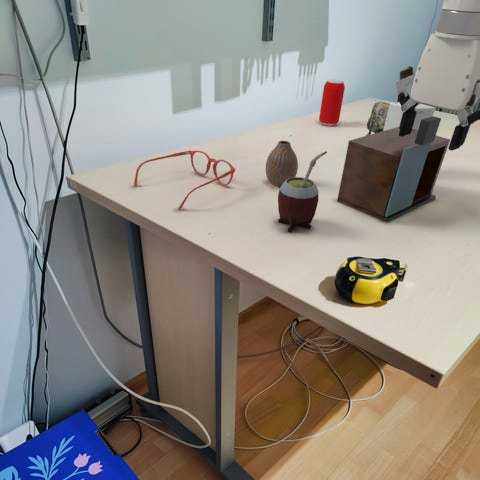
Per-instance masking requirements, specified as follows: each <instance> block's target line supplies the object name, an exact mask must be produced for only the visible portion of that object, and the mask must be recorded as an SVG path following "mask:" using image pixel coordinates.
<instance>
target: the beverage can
mask: <svg viewBox="0 0 480 480" xmlns="http://www.w3.org/2000/svg"><path fill="white" fill-rule="evenodd" d="M345 89H346V87H345V82H344V81H343V80H342V79H336V78H332V79H331V78H330V79H327V80H326V82H325V83H324V85H323V91H322V97H321V104H320V111H319V116H318V121H319V123H321V125H323V126H327V127H333V126H335V125H338V124H339V122H340V118H341V111H342V106H343V100H344V95H345Z"/></svg>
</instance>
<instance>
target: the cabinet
mask: <svg viewBox="0 0 480 480" xmlns="http://www.w3.org/2000/svg"><path fill="white" fill-rule="evenodd" d="M399 132H400V129H399V127H396V128H392V129H389V130H385V131H382V132H378V133H371V134H370V135H367V134H366V135H367V136H366V135H364V136H361V137H358V138H354V139H350V140H348V143H347V147H346V148H347V149H346V153H345V159H344V164H343V169H342V174H341V178H340V179H341V180H340V184H339V190H338V194H337V198H336V201H337V202H338V203H340V204H343V205H345V206H347V207H350V208H352V209H354V210H356V211H359V212H361V213H364V214H366V215H368V216H370V217H372V218H375V219H377V220H380V221H382V222H385V223H386V224H388V223H389V222H392V221H394V220H396V219H398V218H400V217H402V216H404V215H407V214H409V213H410V212H412V211H414V210H416V209H418V208H421V207H422V206H424V205H427V204H429V203H431V202H434V201H435V200H436V198H437V195H434V194H433V191H434V189H435V186H436V182H437V181H438V180H437V179H438V177H439V173H440V172H441V167H442V165H443V162H444V159H445V157H446V154H447V151H448V147H449V144H450V141H451V138H447V137H444V136H440V135H436V136H435V139H434V142H431V145H430V148H429V151H428V154H427V158H426V161H425V164H424V167H423V170H422V173H421V176H420V180H419V183H418V186H417V189H416V192H415V195H414V198H413V202H412V205H411V206H409V207H407V208H405V209H402V210H400V211H398V212H396V213H394V214H392V215H390V216H388V217H386V216H385V214H386V210H387V206H388V203H389V199H390V196H391V192H392V189H393V185H394V181H395V178H396V174H397V171H398V167H399V164H400V160H401V156H402V153H403V149H404V148H407V147H410V146H413V145H416V143H415V139H416V136H417V133H418V130H414V129H412V131H411V133H410V134H408V135H405V136H402V137H401V136H399Z"/></svg>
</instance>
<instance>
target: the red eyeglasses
mask: <svg viewBox="0 0 480 480" xmlns="http://www.w3.org/2000/svg"><path fill="white" fill-rule="evenodd" d="M196 153H201V154H203V155H205V157H206V158H207V164H206V170H205V172H204V173H200V172H199V171H198V170H197V169H196V167H195V164H194V156H195V154H196ZM187 155H190V162H191V167H192V169H193V171H194V172H195V173H196V174H197V175H199V176H206V175H207V174H208V173H209V171H210V169H211V165H212V171H213V175H214V177H215V178H213V179H211V180H209V181H206V182H204V183H202V184H199V185H197V186H196V187H194V188H193V189H191V190H190V191H188V193H187V194H186V196H185V197H184V199H183V200H182V201H181V204H180V205H179V207H178V210H181V209H182V208H183V207H184V205H185V203H186V201H187V199H188V198H189V196H191V195H192V193H193V192H194V191H196V190H197V189H200V188H202V187H205V186H207V185H209V184H212V183H214V182H218V183H219V184H220V185H222V186H228V185H229V184H231V182H232V180H233V177H234V173H235V172H236V168H235V167H234V166H233V165H232V164H231V163H230V162H229V161H227V160H225V159H218V160H216V159H215V158H211V157H210V156H209V155H208V153H206V152H205V151H202V150H185V151H180V152H175V153H173V154H168V155H164V156H159V157H155V158H151V159H147V160H145V161H143V162H141V163H140V164H139V165H138V167H137V168H136V170H135V175H134V181H133V186H134V187H137V186H138V175H139V172H140V169H141V167H142V166H143V165H145V164H147V163H150V162H153V161H158V160H163V159H169V158H173V157H180V156H187ZM220 162H223V163H226V164H227V165H228V167H229V168H230V170H228V171H226V172H224V173H222V174H221V175H219V176H218V173H217V168H218V167H217V166H218V164H219V163H220ZM212 163H213V164H212ZM229 175H230V176H229ZM228 176H229V177H230V178H229V180H228V182H227V183H222V182H221V180H220V179H223V178H226V177H228Z"/></svg>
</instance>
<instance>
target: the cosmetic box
mask: <svg viewBox="0 0 480 480" xmlns="http://www.w3.org/2000/svg"><path fill="white" fill-rule="evenodd" d="M389 104H390V105H389V109H388V113H387V117H386V121H385V125H384V129H383V131H385V130H389V129H392V128H396V127H399V126H400V122H401V119H402V115H403V112H402V111H401V105H400V102H397V101H396V102H389ZM415 110H416V117H415V120H414V124H413V128H412V129H414V130H418V129H419V126H420V122H421V120H422V119H425V118H429V117H433V116H434V114H435V110H436V107H432V106H428V105H424V104H419V105H418V106H417V107H416V108H415Z"/></svg>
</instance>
